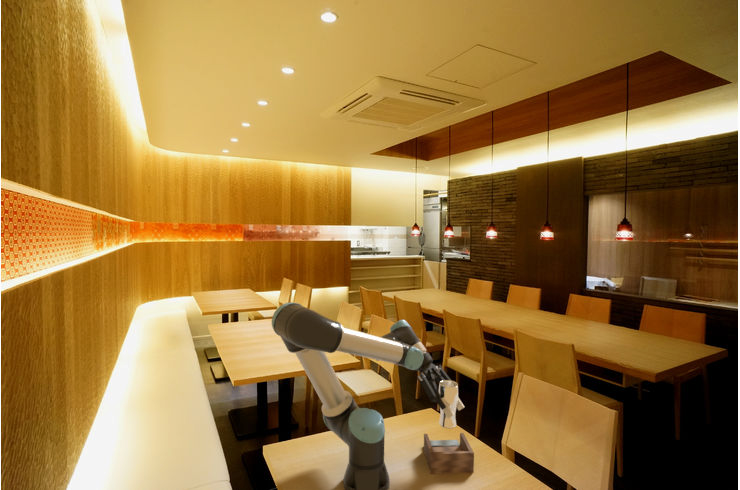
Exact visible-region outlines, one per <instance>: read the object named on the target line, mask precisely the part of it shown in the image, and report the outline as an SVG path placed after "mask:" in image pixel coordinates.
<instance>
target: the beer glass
mask: <svg viewBox="0 0 740 490" xmlns="http://www.w3.org/2000/svg"><path fill="white" fill-rule="evenodd" d="M451 380H452V379H451ZM451 380H443V381H440V383H438V384H439V385H438V391H439V393H440V396H441V399H442V398H444V400H445V401H446V403H447V404H448V406H449V407H450V409H451V410H452V412H453V413H454V415H453V416H451V417H450V418H448V417H447V416H446V414H445V413H444V411H443V410H442V409H441V408H440V407H439V409H440V410H439V411H440V415H439V420H438V421H439V422H438V424H439V426H440V427H442V428H444V429H454V428H455V427H456V426H457V420H456V419H457V418H456V413H457V412H456V411H457V403H458V397H459V384H458V382H456V381H454V380H452V381H451Z"/></svg>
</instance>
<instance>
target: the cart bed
mask: <svg viewBox="0 0 740 490" xmlns="http://www.w3.org/2000/svg"><path fill="white" fill-rule="evenodd" d="M423 453H424V457H425V460H426V462H427V466H428V469H429V472H430V474H431V475H432V474H436V475H437V474H458V473H459V474H463V473H474V471H475V470H474V469H475V463H474V462H475V461H474V460H475V452H474V451H473V449H472V447H471V445H470V443H469V441H468V439H467V437H466V435H465V434H464V432H460V433H459V440H458V439H440V440H439V439H437V440H435V439H433V440H430V437H429V435H428V433H424V434H423Z"/></svg>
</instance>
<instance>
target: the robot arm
mask: <svg viewBox="0 0 740 490" xmlns="http://www.w3.org/2000/svg"><path fill="white" fill-rule="evenodd" d="M271 328H272V329H273V332H274V333H275V334H276V335H278V336H279V337H280V338H281V340H282V341H283V344H284V345H285V348H286V349H287V351H288V352H289V353H291V354H295V356H296V357H297V359H298V361H299V363H300V364H301V367H302V368H303V370H304V372H305V374H306V375H307V377H308V379H309V381H310V382H311V385H312V387H313V389H314V391H315V392H316V394H317V396H318V397H319V399H320V402H321V403H322V405H321V412H322V419H323V421H324V424H325V426H326V427H327V428H328V429H329V430H330V432H332V433H333V434H335V435H336V436H337V437H338V438H339V439H340V440H342V442H343V443H345V444H346V445H347V446H348V463H347V466H346V469H345V473H344V476H343V489H344V488H345V489H344V490H389V489H390V476H389V472H388V469H387V466H386V463H385V436H386V435H385V434H386V429H385V427H386V426H385V421H384V418H383V415H382V414H381V413H380V412H378V411H377V410H375V409H372V408H371V409H369V408H368V407H359V406H358V404H357V403H356V401H355V399H354V396H352V394H351V392H350V391H348V390H345V389H344V387H343V385H342V383H341V382H340V380H339V378H338V376H337V373H336V372H335V370H334V367H333V366H332V363H331V362H330V360H329V357H328V356H327V354H326V353H329V354H333V353H335V352H339V353H344V354H349V355H354V356H358V357H363V358H366V359H371V360H375V361H378V362H379V361H380V362H384V363H389V364H394V365H396V366H399V367H400V366H401V367H403V368H406V369H408V370H411V371H417V372H419V375H418V376H416V379H417V381H418V382H419V383H420V384H421V386H422V388H423V389H424V391H425V393H426V395H427V397H428V399H429V400H430V402H431V403H434V404H436V403H437V405H438V406H439V409H440V408H441V409H442V410H443V411H444V413H445V414H446V416H447V417H448V418H450V417H451V416H453V415H454V413H453V412H452V410H451V409H450V407H449V406H448V404H447V403H446V401H445V400H444V398H442V399H441V396H440V393H439V387H438V386H437V384H436V382H437V383H438V384H439V383H440V381H443V380H451V381H453V380H452V379H451V378H450V376H449V375H448V374H447V373H446V371H445V370H444V369H443V367H442V365H441V364H439V365H435V363H433V361H434V358H433V357H432V355H430V353H429V352H427V348H426V346H425V345H424V344H423V343H422V341H421V340H420V339H419V337H418V336H417V334H416V332H415V331H414V330H413V327H412V326H411V325H410V323H408V321H406V319H400V320H398V321H397V322H394V323H393V324H392V325H391V326H390V329H389V330H390V331H389V332H388V333H385V334H384V335H382V336H377V335H374V334H370V333H367V332H363V331H361V330H356V329H353V328H350V327H346V326H343V325H342V324H341V322H339V321H337V320H333V319H330V318H329V317H327V316H324V315H322V314H320V313H318V312H316V311H315V310H312V309H310V308H308V307H305V306H304V305H302V304H300V303H297V302H286V303H283V304H281V305H280V306H278V307H277V308H276V309H275V311H274V312H273V314H272V318H271ZM464 408H465V405H464V404H463V402H462V400H461V399H460V397H459V396H458V403H457V408H456V410H458V412H459V411H461V410H463V409H464Z"/></svg>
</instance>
